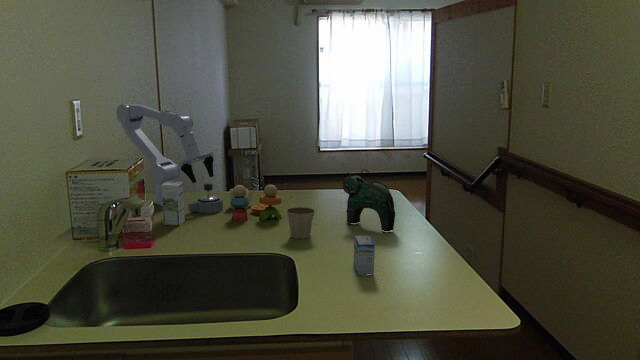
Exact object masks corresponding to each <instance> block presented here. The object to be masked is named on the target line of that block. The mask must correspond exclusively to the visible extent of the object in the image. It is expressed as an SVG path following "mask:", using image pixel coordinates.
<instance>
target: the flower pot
mask: <svg viewBox="0 0 640 360" xmlns="http://www.w3.org/2000/svg"><path fill="white" fill-rule="evenodd" d="M285 212H286V214H287V217H288V225H289V232H290V233H289V234H290V237H291V238H293V239H297V240H299V239H302V240H304V238H306V239H308V237H309V238H310V237H311V231H312V224H313V220H314V218H313V217H314V216H315V214H316V210H315V209H314V208H313V207H304V206H297V207H290V208H289V207H288V208H287V209H285Z"/></svg>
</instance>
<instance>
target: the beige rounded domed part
mask: <svg viewBox="0 0 640 360" xmlns="http://www.w3.org/2000/svg"><path fill="white" fill-rule="evenodd" d="M233 189H234V187H233V188H230V189H229V208H230V209H232V210H234V209H235V208H234V207H233V206H232V205H231V204H230V202H231V199H232V197H234V194H233ZM245 189H246V195H245V196H246V197H247V198H248V200H249V202H253V201H254V200H253V190H249V189H248V188H246V187H245ZM245 209H246V210H247V209H249V205H248V206H246V207H245Z"/></svg>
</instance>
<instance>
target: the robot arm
mask: <svg viewBox="0 0 640 360" xmlns="http://www.w3.org/2000/svg"><path fill="white" fill-rule="evenodd" d="M116 113H117V118H116V119H117V121H118V122H120V124H121V126H122V128H123V130H124V133H125V134H126V136H127V137H128V138H129V139H130V141H131V142H132V143H133V144H134V145H135V147H136V148H137V149H138V150H139V151H140V152H141V154H142V155H143V156H144V157H145V159H146V160H147V162H149V164H150V165H151V166H150V170H149V171H150V172H151V173H152V175H153V178H154V180H155V181H156V183H155V185H154V191H155V193H154V194H155V200H154V201H153V203H154V204H156V205H159V206H160V207H163V201H162V184H163V183H165V182H179V181H178V180H179V177H180V176H181V174H182V173H181V172H183V173H184V174H185V175H186V176H187V178H188V179H189V180H190V181H191V183H192V184H195V183H197V179H196V176H195V174H194V170H193V165H192V164H195V163H196V162H200V161H202V164H203V165H204V166H205V169H206V171H207V174H208V176H209V178H213V177H215V176H214V159H215V158H214V153H213V151H210V152H206V153H205V152H204V153H202V151H201V148H200V146H199V143H198V140H197V136H196V135H195V133H194V129H193V127H194V122H193V119H192V117H191V116H189V115H188V114H184V115H181V114H180V113H179V112H177V113H175V112H172V111H171V110H170V109H169V108H167V109H162V110H157V109H155V108H152V107H150V106H148V105H145V104H142V103H139V102H136V103H128V104H127V103H126V104H124V103H122V104H119V105H118V106H117V108H116ZM116 113H115V114H116ZM144 117H147V118H150V119H153V120H157V122H158V123H159V124H160V125H161V126H165V127H168V128H171V129H172V131H174V132H175V133H176V136H177V137H178V138H179V141H180V143H181V146H182V149H183V151H184V154H185V157H186V159H182V160H180V161H177V162H176V163H174V162H173V160H171V159H169V158H168V157H165V156H164V155H163V154H162V153H161V152H160V151H159V149H157V147H156V146H155V145H154V144H153V142H152V141H151V140H150V139H149V137H147V135H146V134H145V133H144V131H142V129H141V127H142V124H143V120H144Z"/></svg>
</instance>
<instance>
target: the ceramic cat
mask: <svg viewBox="0 0 640 360" xmlns="http://www.w3.org/2000/svg"><path fill="white" fill-rule="evenodd" d="M363 171H365V172H367V174H370V172H369V170H368V169H366V168H364V169H362V170H361V172H360V175H352V174H351V173H350V172H348V173H347V174H346V177H345V178H344V180H343V182H342V188H343V191H344V193H346V194H348V198H347V201H346V202H347V204H346V205H347V206H346V223H347V222H348V223H357V222H360V223H361V214H362V212H363V210H364V209H371V210H373V211H375V212H376V213H377V215H378V217H379V221H380V225H381V231H382V230H384V231H390V230H393V231H394V229H395V228H394V227H395V221H396V220H395V219H396V210H395V202H394V198H393V195H392V194H391V192H390V189H389V188H388V186H387V184H385V183H384V182H381V181H379V180H375V181H374V180H373V181H369V182H368V181H367V182H366V180H364V179H363V176H362V175H363Z"/></svg>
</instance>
